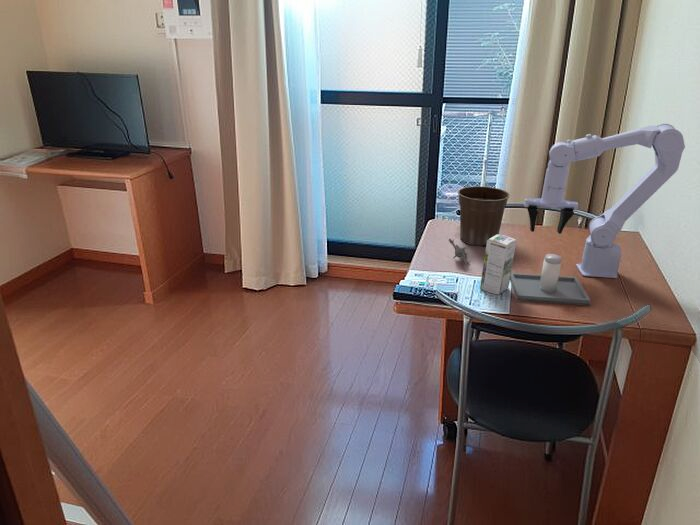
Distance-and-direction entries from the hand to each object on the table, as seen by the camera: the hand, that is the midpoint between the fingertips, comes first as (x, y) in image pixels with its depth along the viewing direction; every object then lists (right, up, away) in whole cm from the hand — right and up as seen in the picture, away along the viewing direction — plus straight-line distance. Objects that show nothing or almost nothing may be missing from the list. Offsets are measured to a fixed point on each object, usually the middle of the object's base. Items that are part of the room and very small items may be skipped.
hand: (545, 231), depth 157 cm
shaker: (-4, -16, -12) cm, 20 cm away
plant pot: (-14, -2, +22) cm, 27 cm away
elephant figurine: (-24, -8, +6) cm, 26 cm away
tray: (-4, -17, -12) cm, 21 cm away
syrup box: (-18, -16, -11) cm, 27 cm away
